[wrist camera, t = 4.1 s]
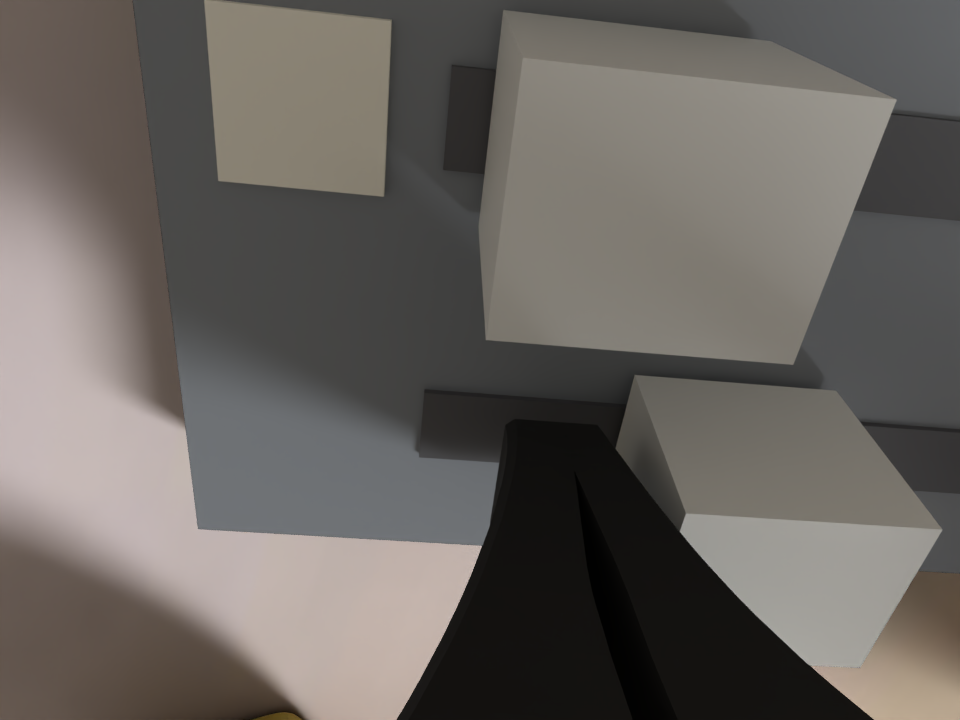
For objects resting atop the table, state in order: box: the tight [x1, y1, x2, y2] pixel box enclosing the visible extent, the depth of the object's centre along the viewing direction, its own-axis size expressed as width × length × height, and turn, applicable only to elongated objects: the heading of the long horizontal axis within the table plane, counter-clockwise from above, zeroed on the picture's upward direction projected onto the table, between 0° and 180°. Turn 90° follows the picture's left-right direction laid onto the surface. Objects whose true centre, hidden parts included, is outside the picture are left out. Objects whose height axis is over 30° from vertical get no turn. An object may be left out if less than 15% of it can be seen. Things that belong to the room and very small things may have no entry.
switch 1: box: [478, 10, 897, 365], centre depth 8 cm, size 3×2×3 cm
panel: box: [133, 0, 960, 574], centre depth 10 cm, size 16×14×2 cm
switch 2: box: [615, 375, 943, 668], centre depth 10 cm, size 3×2×3 cm
